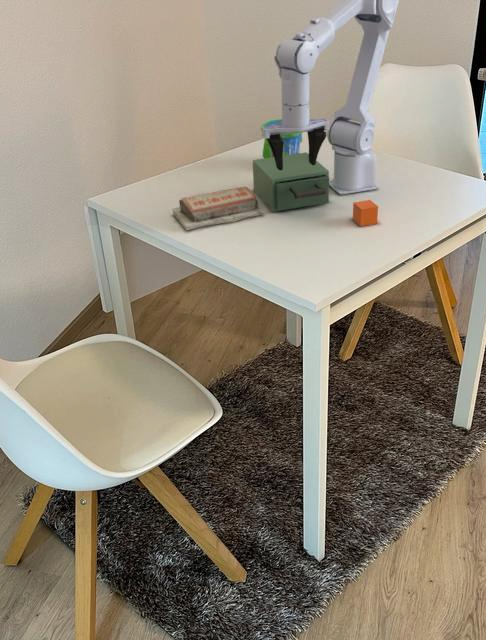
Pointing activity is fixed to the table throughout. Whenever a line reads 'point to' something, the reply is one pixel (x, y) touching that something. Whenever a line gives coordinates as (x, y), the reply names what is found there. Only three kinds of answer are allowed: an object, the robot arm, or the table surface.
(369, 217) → the cube
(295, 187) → the drawer
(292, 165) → the small green cabinet
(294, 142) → the snack cup
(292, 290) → the table surface
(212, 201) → the packaged product
